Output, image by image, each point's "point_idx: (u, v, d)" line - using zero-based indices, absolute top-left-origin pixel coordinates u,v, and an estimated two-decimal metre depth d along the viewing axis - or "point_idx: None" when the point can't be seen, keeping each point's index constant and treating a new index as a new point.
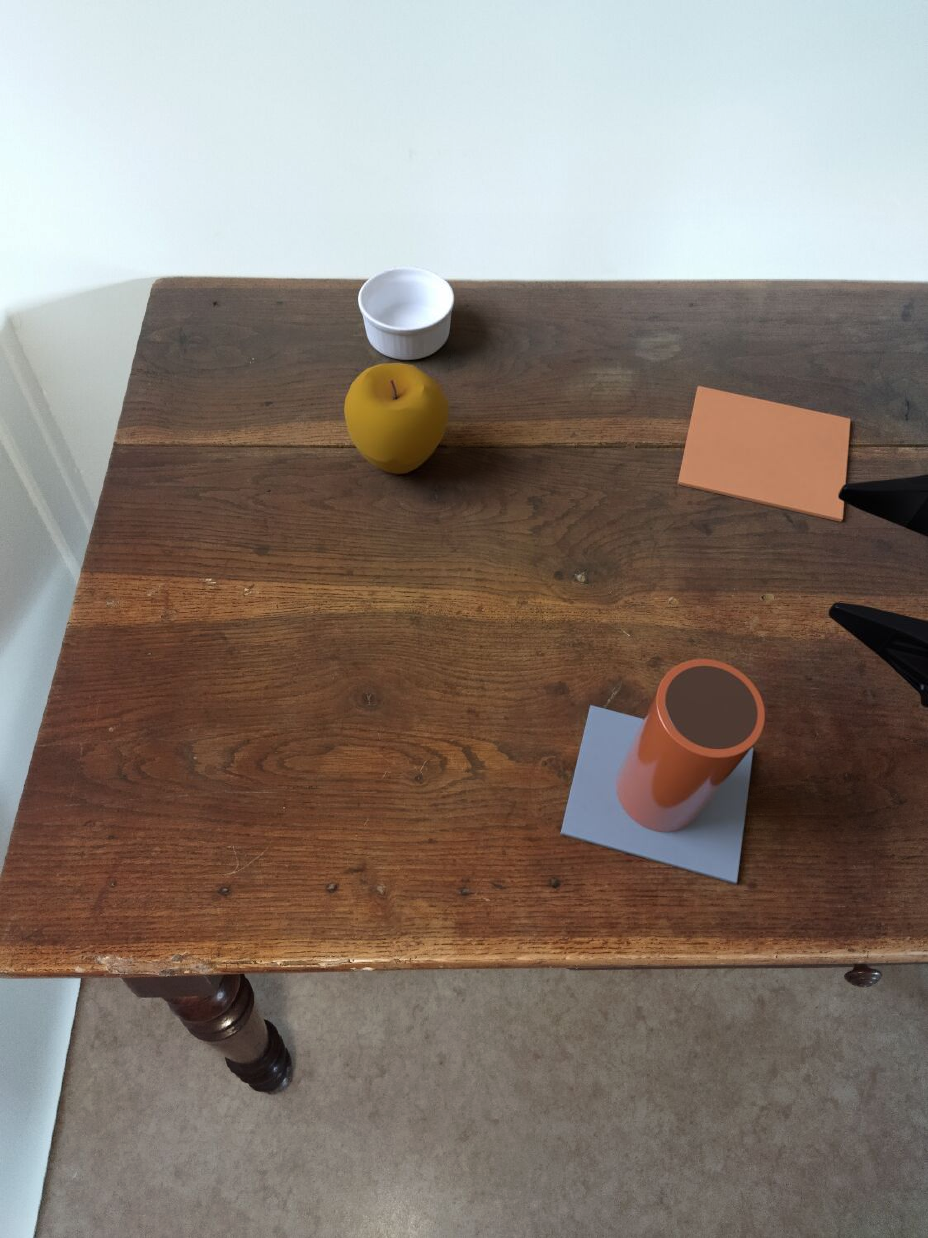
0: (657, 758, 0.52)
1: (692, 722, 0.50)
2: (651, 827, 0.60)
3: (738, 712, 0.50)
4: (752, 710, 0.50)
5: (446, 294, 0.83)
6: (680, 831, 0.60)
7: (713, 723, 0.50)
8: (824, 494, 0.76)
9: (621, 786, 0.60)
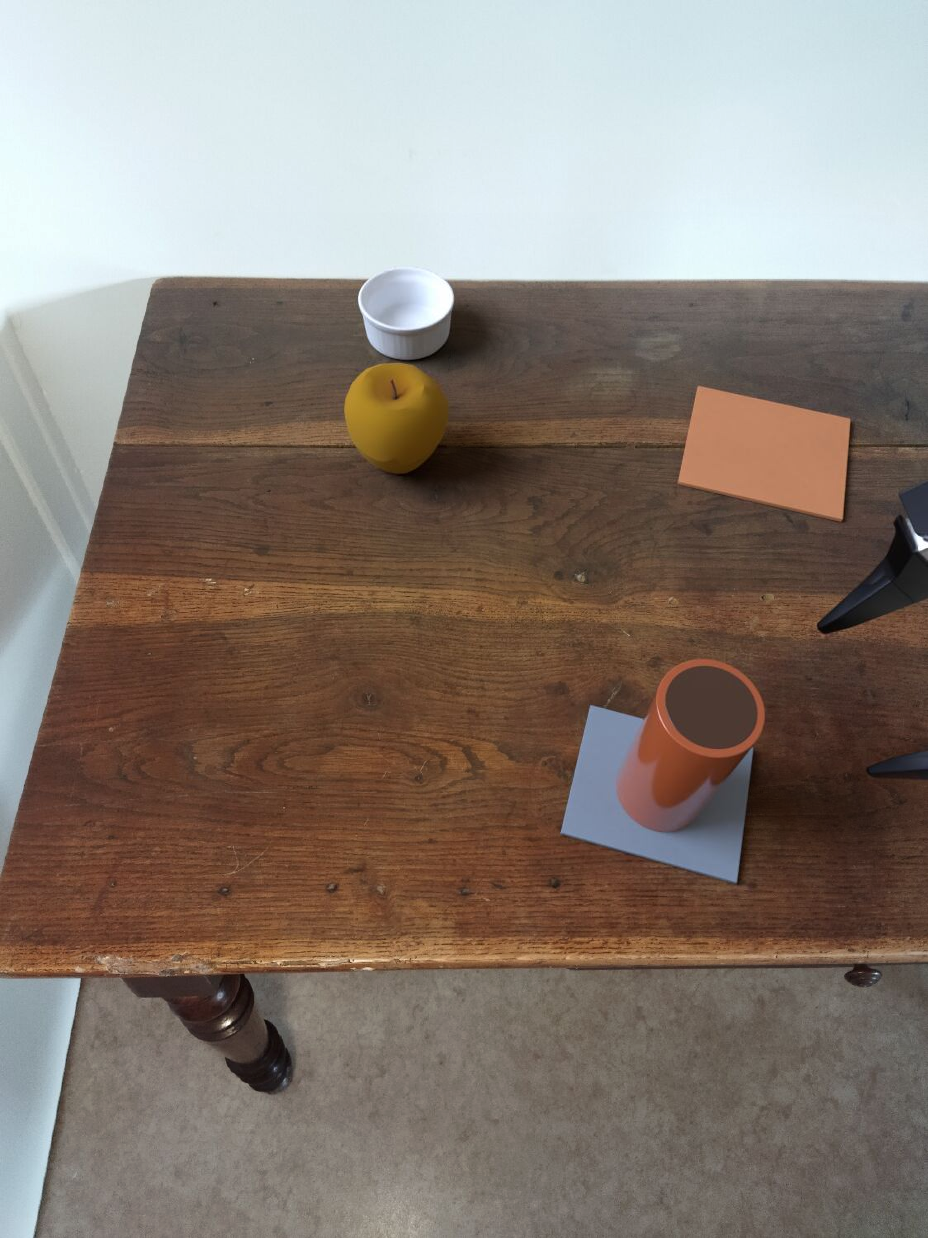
0: (657, 758, 0.52)
1: (692, 722, 0.50)
2: (651, 827, 0.60)
3: (738, 712, 0.50)
4: (752, 710, 0.50)
5: (446, 294, 0.83)
6: (680, 831, 0.60)
7: (713, 723, 0.50)
8: (824, 494, 0.76)
9: (621, 786, 0.60)
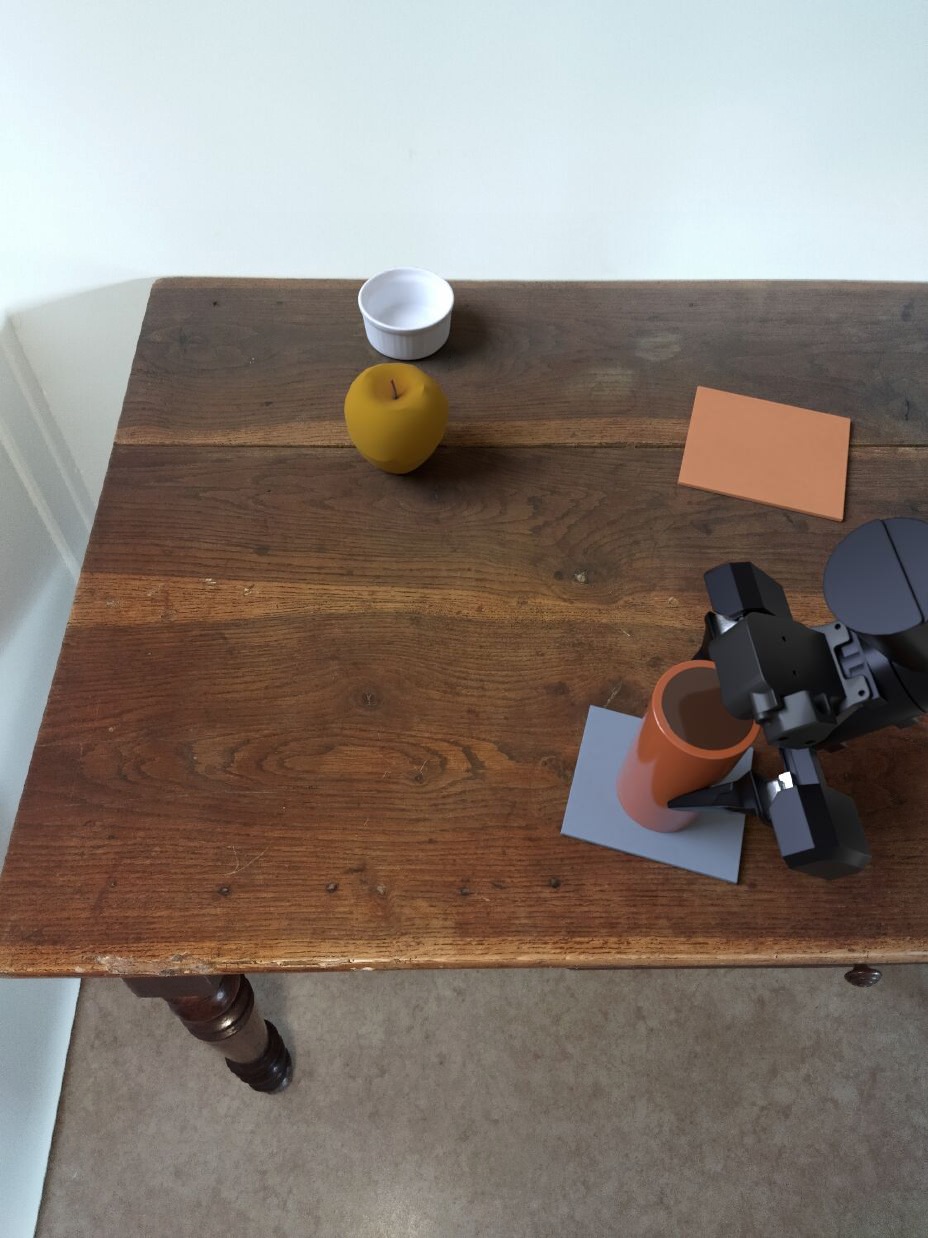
0: (654, 759, 0.52)
1: (688, 724, 0.50)
2: (651, 827, 0.60)
3: None
4: None
5: (446, 294, 0.83)
6: (680, 831, 0.60)
7: (709, 725, 0.50)
8: (824, 494, 0.76)
9: (621, 787, 0.60)
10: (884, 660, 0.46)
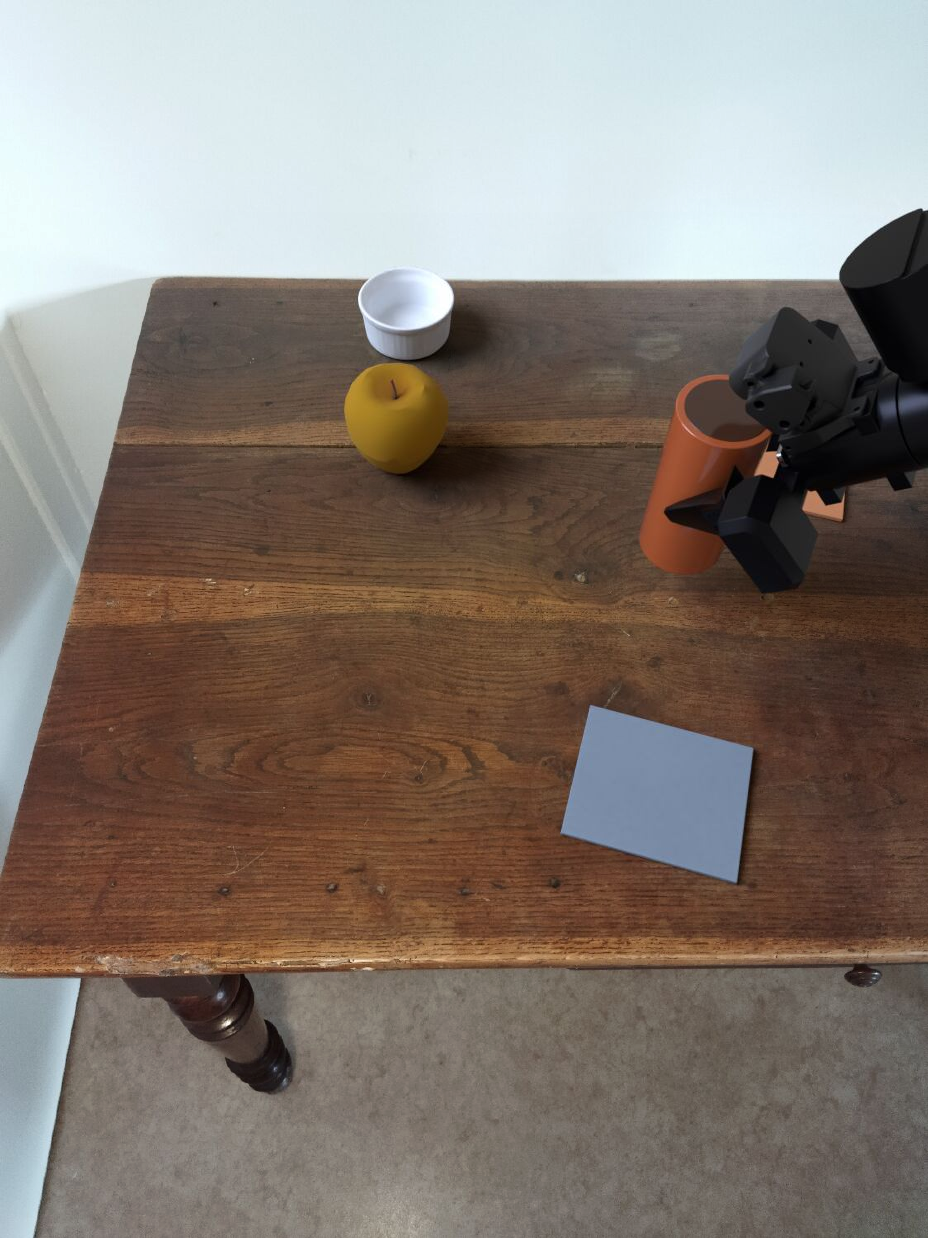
0: (666, 452, 0.57)
1: (702, 412, 0.54)
2: (653, 559, 0.64)
3: (748, 422, 0.54)
4: (762, 425, 0.53)
5: (446, 294, 0.83)
6: (680, 831, 0.60)
7: (719, 420, 0.54)
8: None
9: None
10: (892, 388, 0.48)
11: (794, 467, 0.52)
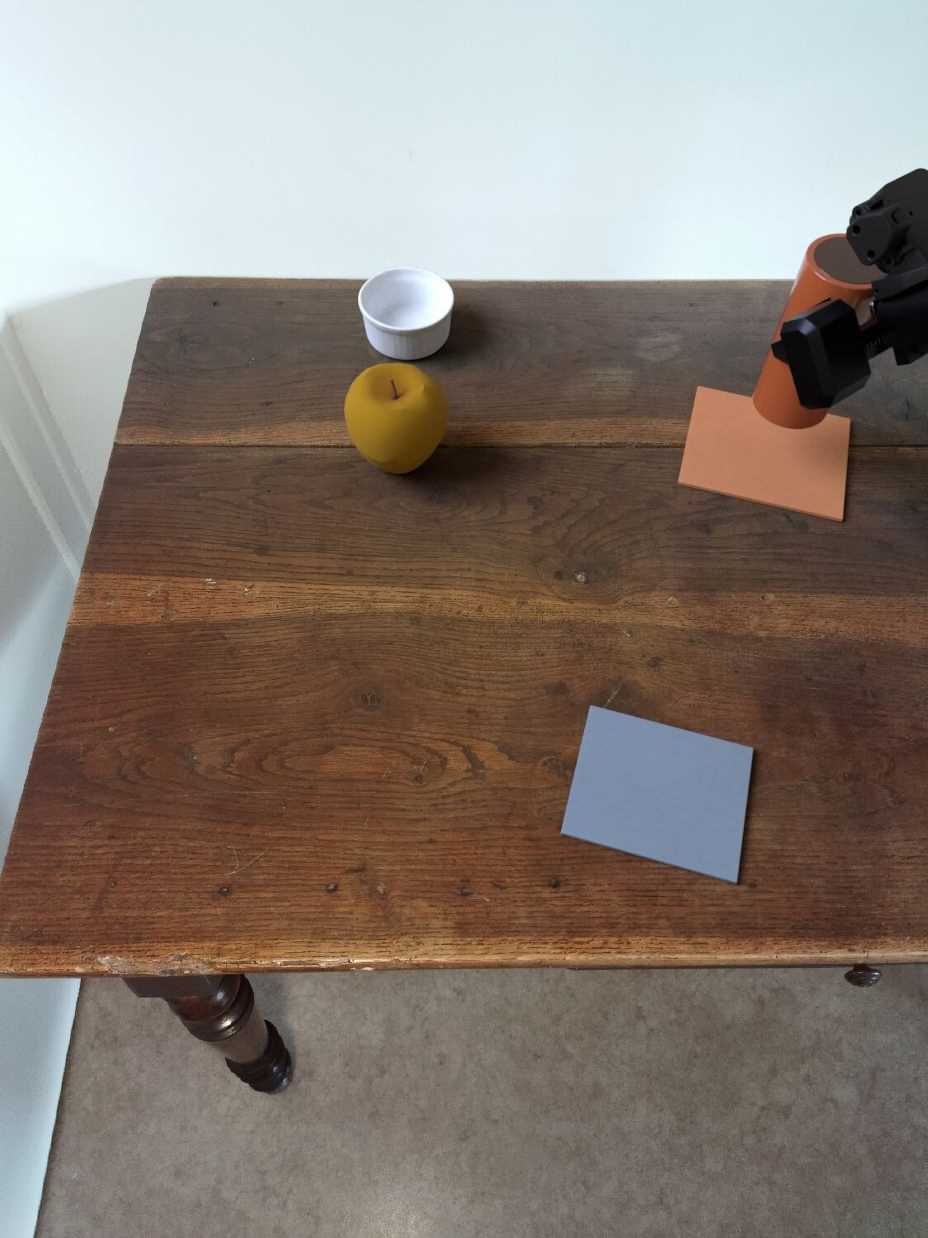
0: None
1: (828, 254, 0.62)
2: (756, 402, 0.72)
3: (863, 273, 0.61)
4: (872, 279, 0.61)
5: (446, 294, 0.83)
6: (680, 831, 0.60)
7: (839, 263, 0.61)
8: (824, 494, 0.76)
9: None
10: None
11: (878, 315, 0.59)
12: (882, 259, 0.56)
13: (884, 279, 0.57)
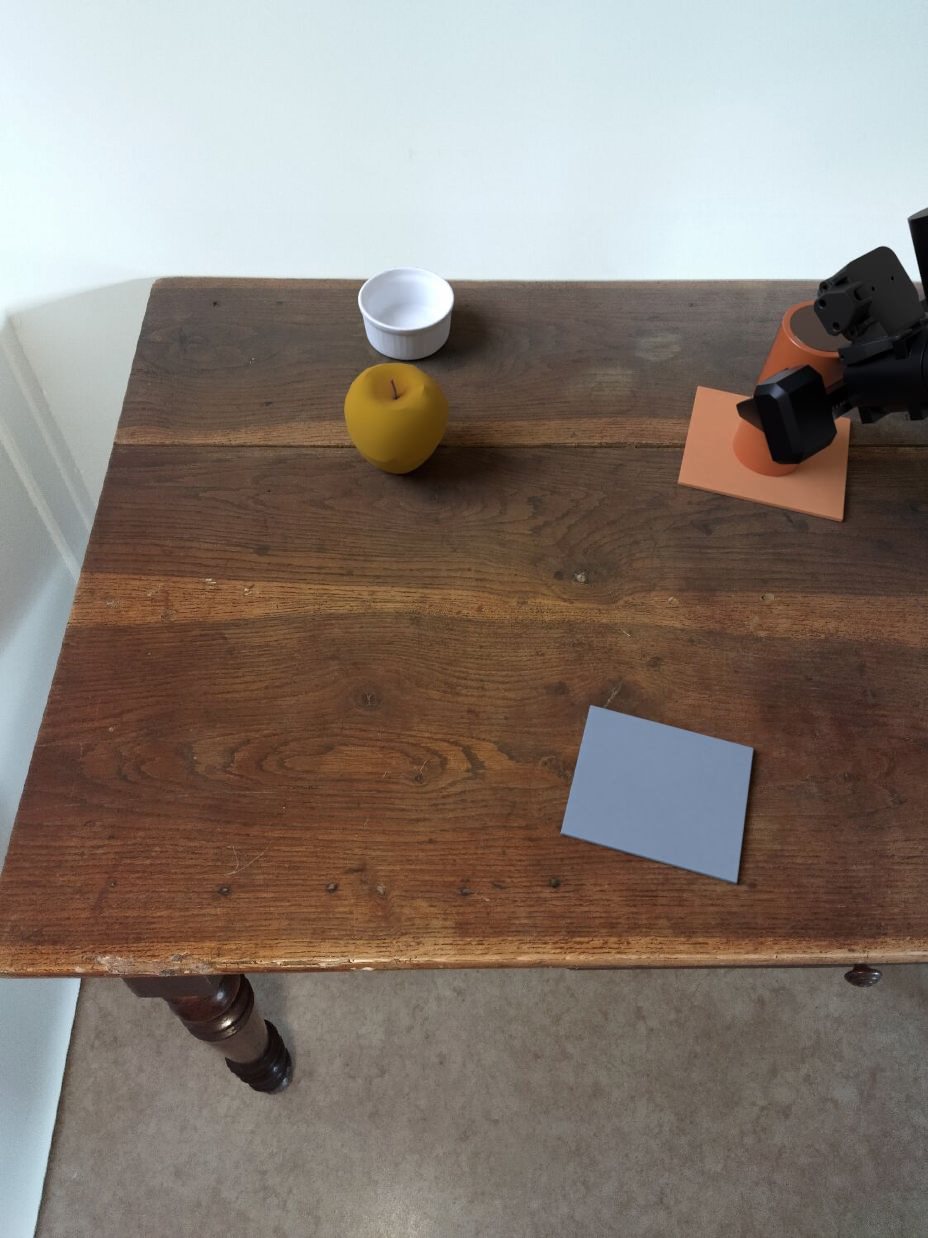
0: None
1: (803, 322, 0.67)
2: (736, 450, 0.77)
3: (834, 341, 0.66)
4: None
5: (446, 294, 0.83)
6: (680, 831, 0.60)
7: (813, 331, 0.66)
8: (824, 494, 0.76)
9: None
10: None
11: (844, 378, 0.64)
12: (846, 330, 0.61)
13: (849, 347, 0.62)
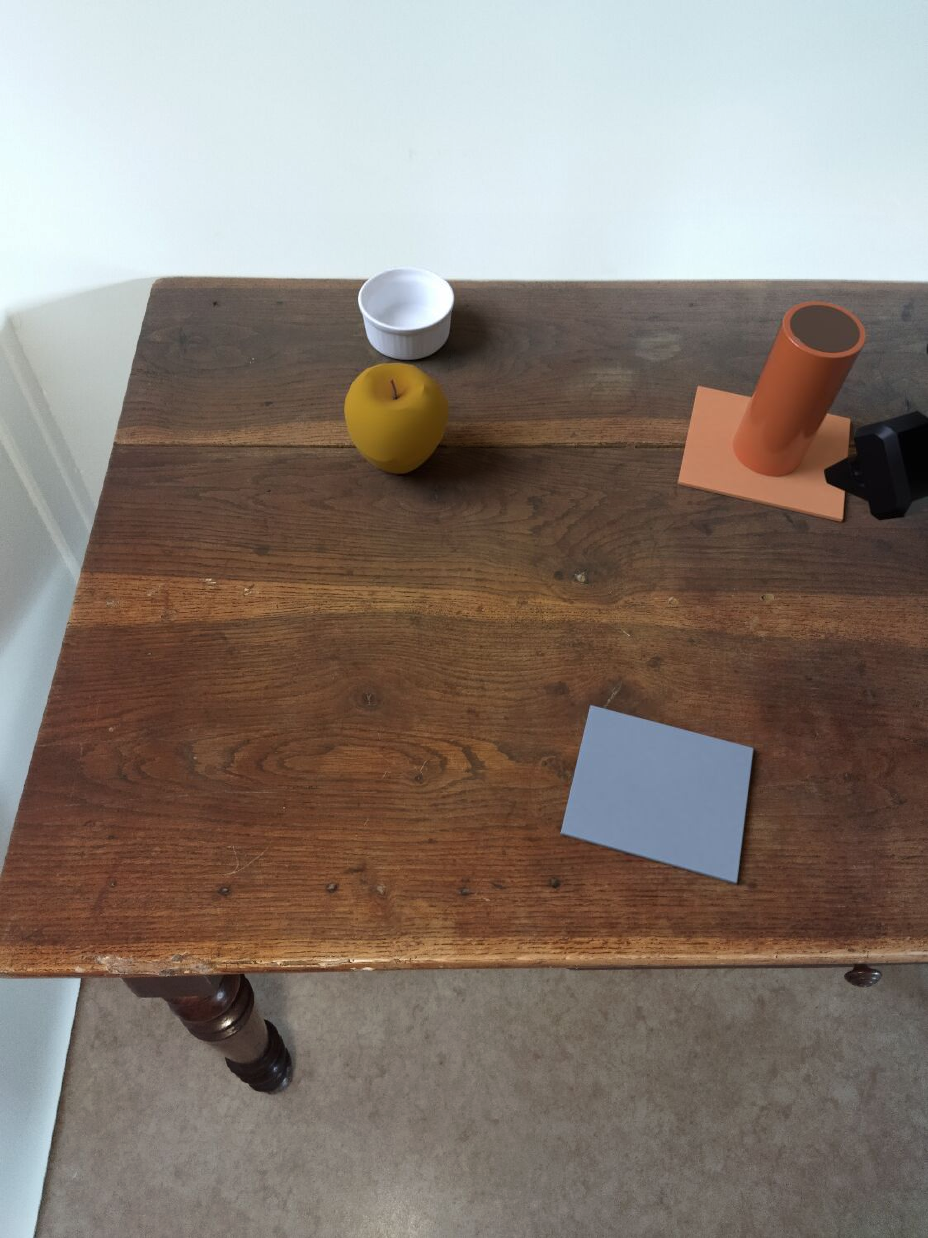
0: None
1: (803, 322, 0.67)
2: (736, 450, 0.78)
3: (835, 342, 0.66)
4: (843, 347, 0.66)
5: (446, 294, 0.83)
6: (680, 831, 0.60)
7: (813, 332, 0.66)
8: (824, 494, 0.76)
9: None
10: None
11: None
12: None
13: None
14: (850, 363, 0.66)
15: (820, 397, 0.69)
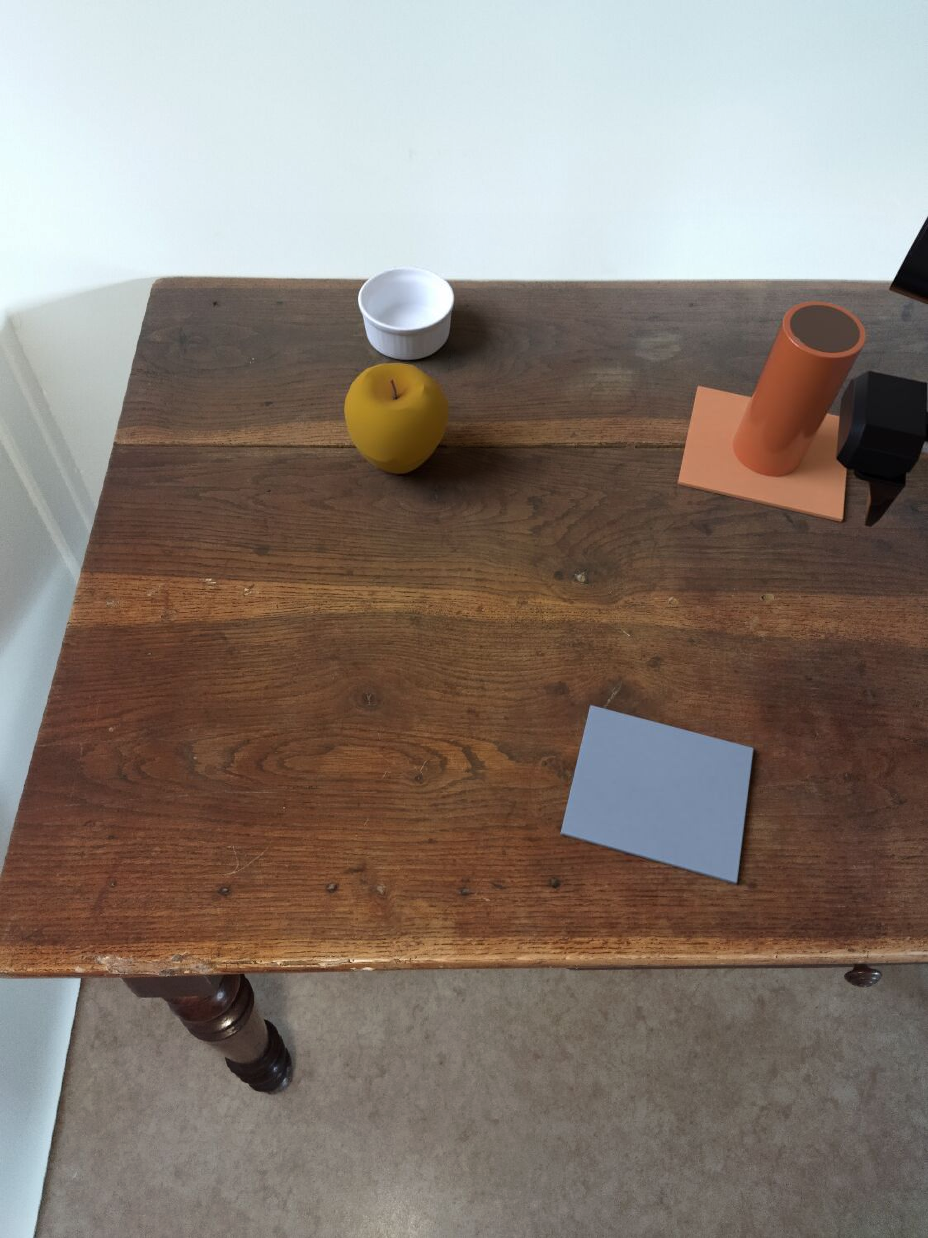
0: None
1: (803, 322, 0.67)
2: (736, 450, 0.78)
3: (835, 342, 0.66)
4: (843, 347, 0.66)
5: (446, 294, 0.83)
6: (680, 831, 0.60)
7: (813, 332, 0.66)
8: (824, 494, 0.76)
9: None
10: None
11: None
12: None
13: None
14: (850, 363, 0.66)
15: (820, 397, 0.69)
